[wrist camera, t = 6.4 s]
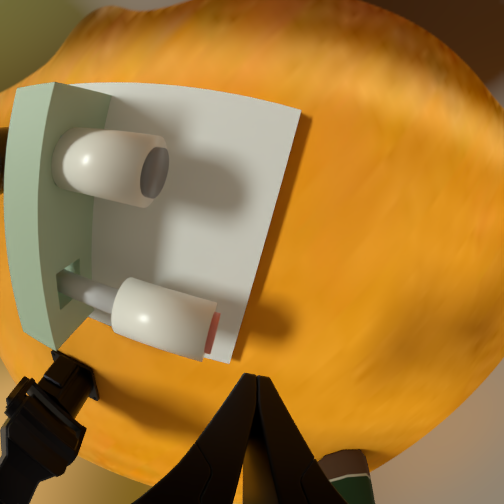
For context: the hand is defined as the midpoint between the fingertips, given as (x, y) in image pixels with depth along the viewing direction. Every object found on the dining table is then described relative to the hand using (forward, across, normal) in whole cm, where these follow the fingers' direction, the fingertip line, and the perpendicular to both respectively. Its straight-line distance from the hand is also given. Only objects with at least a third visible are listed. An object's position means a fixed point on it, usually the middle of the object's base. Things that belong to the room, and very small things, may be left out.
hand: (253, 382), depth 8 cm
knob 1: (+10, +13, -5) cm, 17 cm away
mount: (+12, +10, 0) cm, 16 cm away
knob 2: (+10, +8, +4) cm, 13 cm away
